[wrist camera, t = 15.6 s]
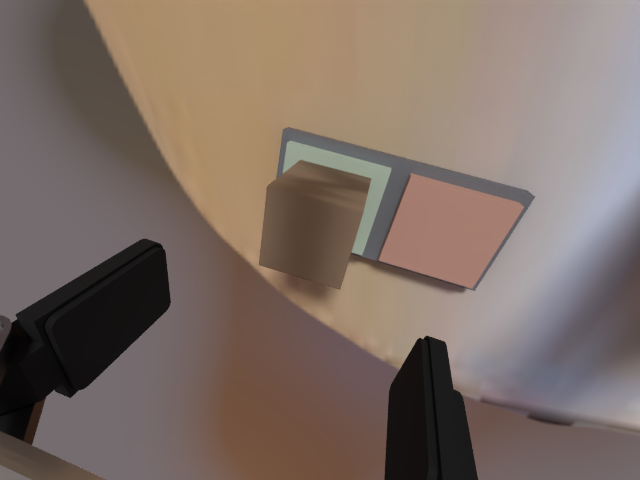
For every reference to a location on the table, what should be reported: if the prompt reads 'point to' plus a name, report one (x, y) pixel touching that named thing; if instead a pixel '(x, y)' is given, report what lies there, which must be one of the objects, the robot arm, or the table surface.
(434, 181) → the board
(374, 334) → the table surface
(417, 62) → the table surface
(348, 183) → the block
